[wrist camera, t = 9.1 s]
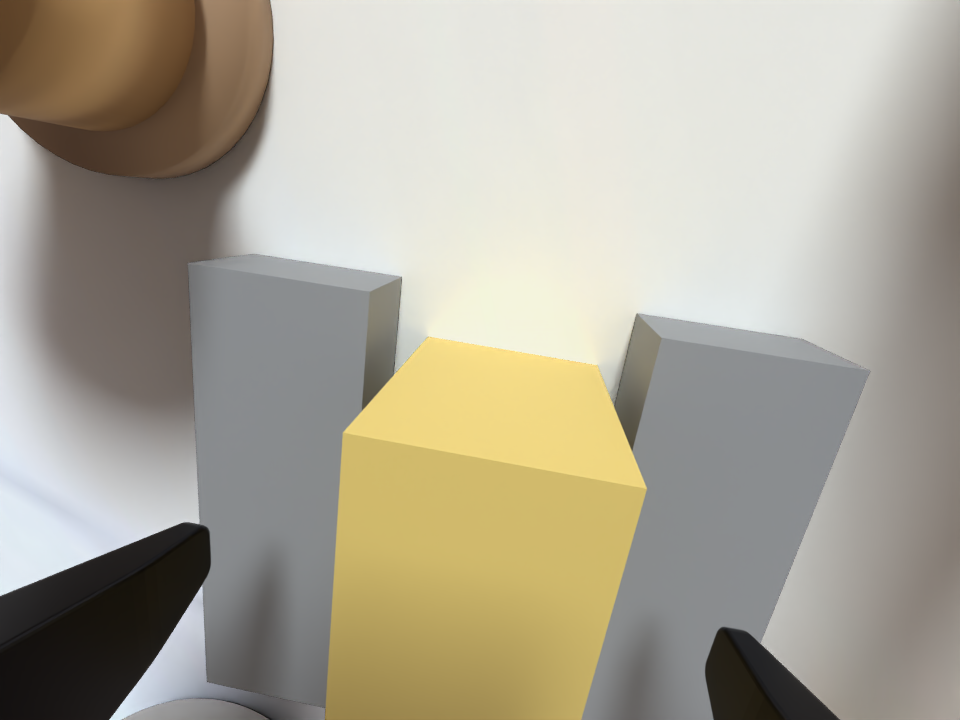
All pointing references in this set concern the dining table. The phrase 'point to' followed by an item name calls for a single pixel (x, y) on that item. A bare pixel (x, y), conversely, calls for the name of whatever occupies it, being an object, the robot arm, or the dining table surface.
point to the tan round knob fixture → (135, 79)
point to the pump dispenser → (196, 711)
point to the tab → (478, 539)
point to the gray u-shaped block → (644, 418)
